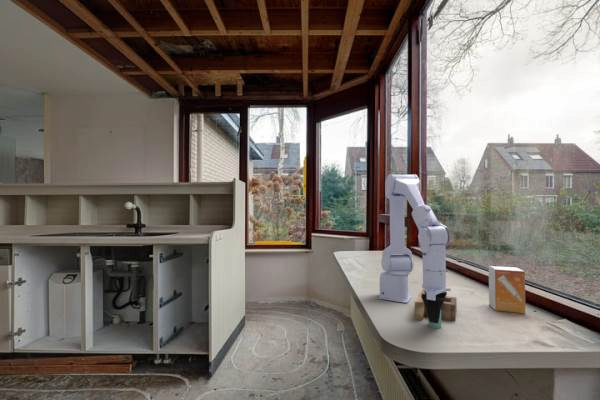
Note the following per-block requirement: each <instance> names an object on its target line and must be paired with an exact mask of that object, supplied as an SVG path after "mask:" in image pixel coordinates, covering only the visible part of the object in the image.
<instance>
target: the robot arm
mask: <svg viewBox="0 0 600 400" xmlns="http://www.w3.org/2000/svg"><path fill="white" fill-rule="evenodd" d="M420 183H421V182H420V179H419V177H418V175H417V174H416V173H414V174H413V173H412V174H394V173H389V174H388V175H387V177H386V179H385V183H384V185H385V186H384V187H385V188H384V189H385V190H384V193H385V198H386V199H388V200H389V236H390V237H389V238H390V239H389V240H390V241H389V242H390V245H388V246H387V247H386V248H385V249H383V250H382V256H381V260H380V261H381V268H382V272H380V275H379V297H378V299H379V300H386V301H390V302H391V301H392V302H398V303H404V304H408V303H409V301H410V300H411V298H412V295H409V275H411V273H412V272H413V269H414V265H415V263H414V261H415V260H414V259H413V253H412V251H411V250H410V249H409V248H407V246H406V233H405V232H406V231H405V230H406V228H405V202H406V200H407V202H408V204H409V205H410V206H411V208H412V212H411V216H412V217H411V218H412V219H413V222H414V223H415V225H416V227H417V230H418V235H417V238H418V243H419V247H420V252H421V253H422V284H421V287H422V289H424V290H425V291H424V292H425V294H422V295H421V297H422V300H423V301H424V303H425V306H426V309H427V314H428V316H427V319H428V318H429V322H432V323H438V322H439V317H440V311H441V310H442V304H443V302H444V301H445V296H447V295H448V293H447V292H451V291H452V287H450V286H447V271H446V270H447V263H446V260H447V259H446V258H447V257H446V256H447V255H446V250H447V249H446V247H447V246H448V245H450V243H451V233H450V230H449V228H448V226H446V225H444V224H443V223H442V222H439V220H438V218H437V216H436V215H435V213H434V212H433V210H432V207H431V206H429V205H428V204H425V202H424V199H423V197H422V195H421V192H420Z"/></svg>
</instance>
